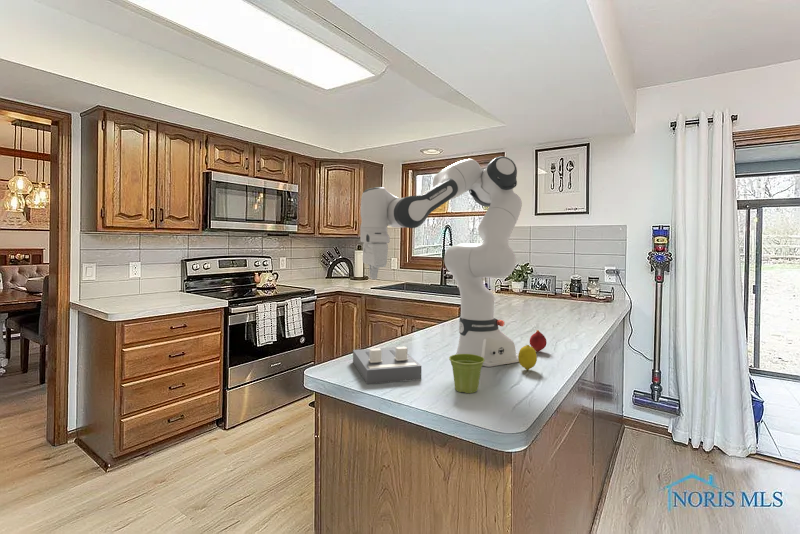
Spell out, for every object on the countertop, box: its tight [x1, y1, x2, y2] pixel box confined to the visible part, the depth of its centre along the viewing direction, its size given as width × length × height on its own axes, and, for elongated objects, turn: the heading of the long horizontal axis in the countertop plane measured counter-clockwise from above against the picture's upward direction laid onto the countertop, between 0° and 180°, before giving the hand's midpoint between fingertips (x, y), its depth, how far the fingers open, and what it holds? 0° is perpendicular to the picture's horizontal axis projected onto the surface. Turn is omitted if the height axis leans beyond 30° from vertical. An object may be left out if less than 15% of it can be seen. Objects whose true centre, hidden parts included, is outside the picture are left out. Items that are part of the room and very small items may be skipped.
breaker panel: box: [352, 346, 422, 385], centre depth 132 cm, size 16×22×4 cm
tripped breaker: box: [368, 347, 383, 363], centre depth 127 cm, size 4×3×4 cm
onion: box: [529, 329, 547, 353], centre depth 156 cm, size 6×6×8 cm
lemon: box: [518, 344, 538, 371], centre depth 134 cm, size 6×6×8 cm
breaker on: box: [394, 346, 409, 361], centre depth 129 cm, size 4×3×4 cm
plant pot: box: [448, 354, 485, 394], centre depth 116 cm, size 9×9×9 cm
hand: (373, 279), depth 142 cm, fingers closed
